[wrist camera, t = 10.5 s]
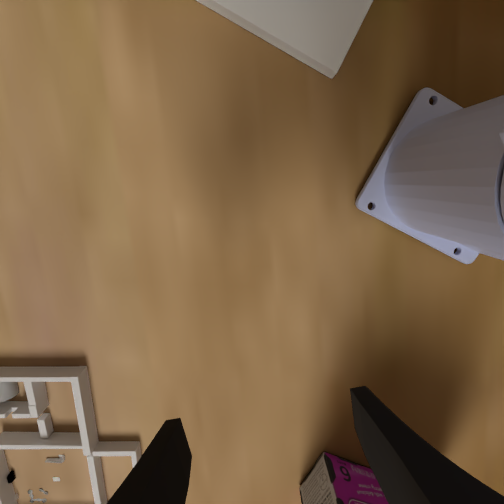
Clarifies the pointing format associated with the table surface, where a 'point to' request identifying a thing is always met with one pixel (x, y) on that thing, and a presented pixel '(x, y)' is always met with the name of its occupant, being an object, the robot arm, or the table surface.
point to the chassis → (300, 26)
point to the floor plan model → (5, 387)
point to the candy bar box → (340, 483)
